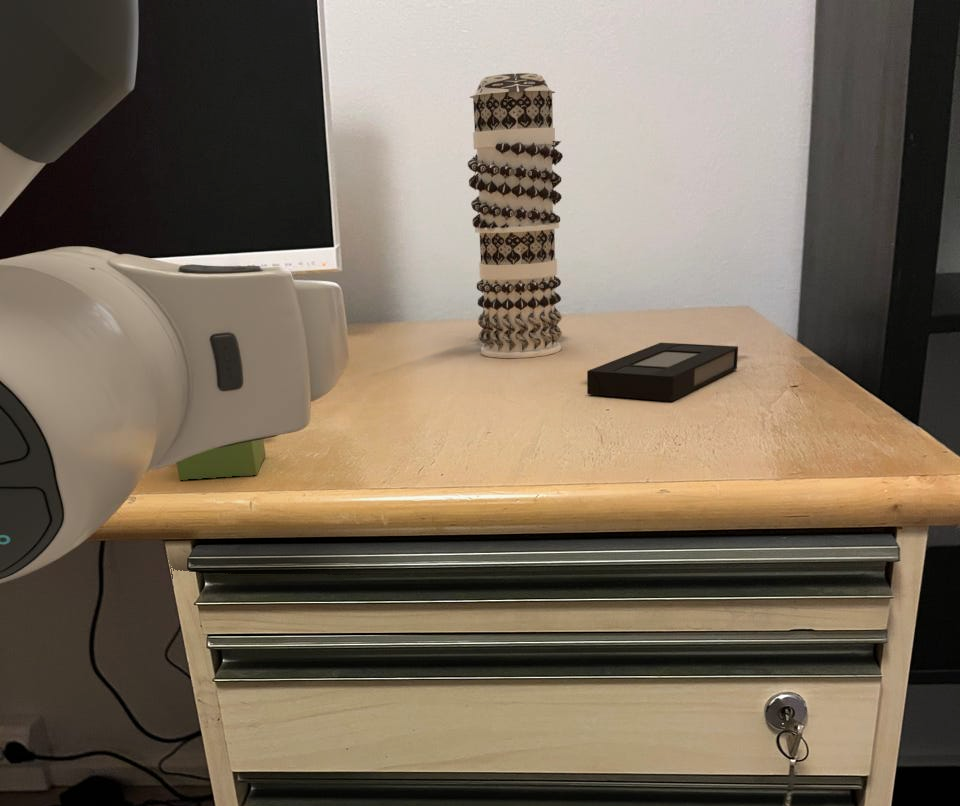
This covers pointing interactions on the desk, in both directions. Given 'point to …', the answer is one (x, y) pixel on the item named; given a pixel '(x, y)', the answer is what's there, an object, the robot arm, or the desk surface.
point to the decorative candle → (516, 215)
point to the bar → (224, 461)
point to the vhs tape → (662, 371)
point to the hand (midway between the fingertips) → (159, 321)
